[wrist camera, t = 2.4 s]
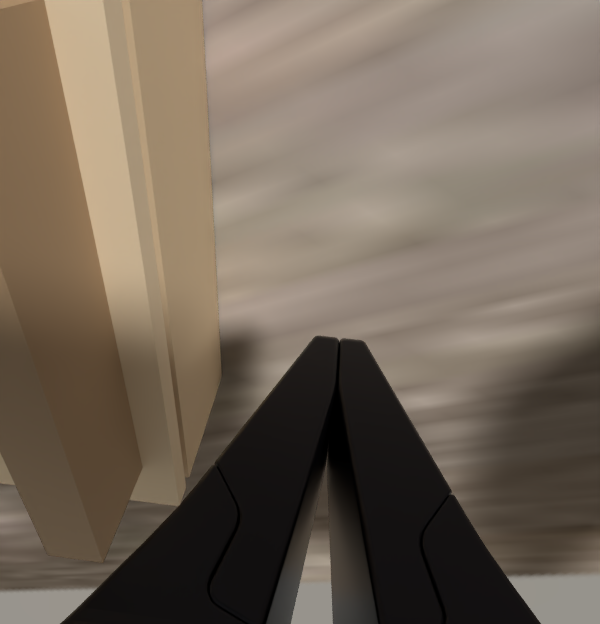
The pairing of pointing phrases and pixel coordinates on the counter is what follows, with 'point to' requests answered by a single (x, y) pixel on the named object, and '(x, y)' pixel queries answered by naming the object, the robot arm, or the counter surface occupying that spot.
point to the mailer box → (179, 197)
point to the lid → (78, 282)
